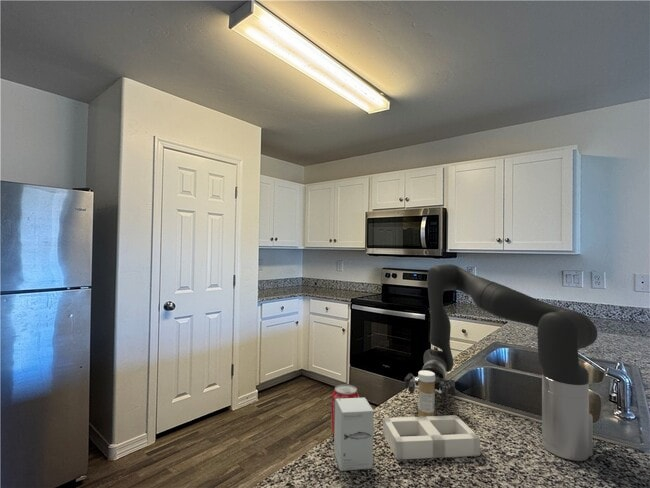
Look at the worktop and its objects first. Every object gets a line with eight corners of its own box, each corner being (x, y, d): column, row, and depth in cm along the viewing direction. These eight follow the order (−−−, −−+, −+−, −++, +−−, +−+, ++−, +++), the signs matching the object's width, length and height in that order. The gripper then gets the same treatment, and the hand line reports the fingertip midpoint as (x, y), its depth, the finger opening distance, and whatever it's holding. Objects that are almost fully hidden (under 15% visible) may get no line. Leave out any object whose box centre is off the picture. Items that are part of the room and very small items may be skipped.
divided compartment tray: (456, 430, 90) (456, 415, 90) (479, 455, 79) (480, 438, 79) (382, 433, 87) (383, 418, 88) (396, 459, 77) (396, 441, 77)
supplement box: (339, 472, 72) (340, 412, 72) (333, 452, 79) (334, 397, 79) (373, 469, 73) (374, 410, 73) (364, 449, 80) (365, 396, 80)
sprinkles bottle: (422, 415, 98) (423, 368, 98) (437, 421, 95) (438, 372, 95) (414, 421, 94) (415, 372, 95) (430, 427, 91) (430, 376, 92)
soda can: (352, 427, 90) (353, 382, 91) (363, 441, 84) (364, 392, 84) (327, 431, 88) (328, 384, 88) (336, 446, 81) (337, 395, 82)
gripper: (411, 359, 113) (401, 375, 98) (456, 366, 107) (454, 383, 93) (410, 382, 113) (401, 401, 98) (456, 390, 107) (453, 411, 92)
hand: (426, 393), depth 95 cm, fingers open, 8 cm apart
